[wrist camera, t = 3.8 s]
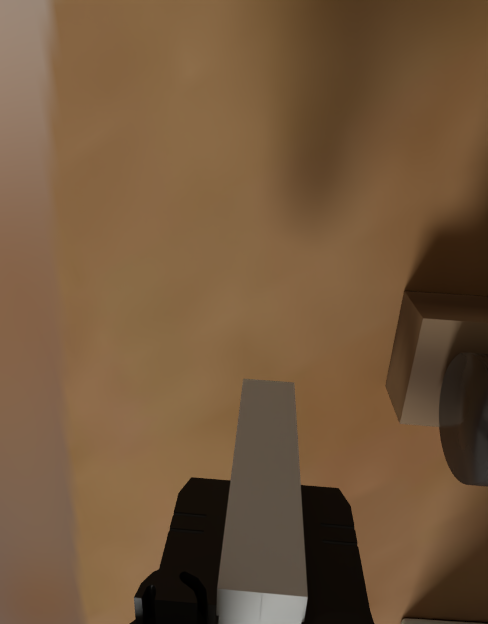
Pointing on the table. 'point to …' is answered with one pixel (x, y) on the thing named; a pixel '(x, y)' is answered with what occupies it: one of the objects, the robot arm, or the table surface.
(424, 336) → the rail
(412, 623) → the supplement box
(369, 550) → the table surface
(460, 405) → the tube
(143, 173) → the table surface
